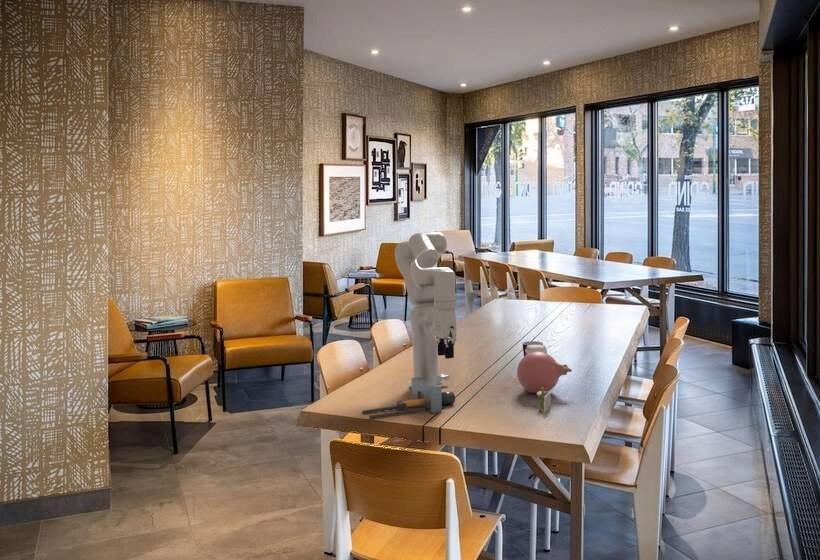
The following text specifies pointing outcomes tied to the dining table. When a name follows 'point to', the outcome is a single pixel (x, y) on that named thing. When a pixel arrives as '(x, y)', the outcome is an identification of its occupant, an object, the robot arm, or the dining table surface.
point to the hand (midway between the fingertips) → (445, 356)
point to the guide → (390, 412)
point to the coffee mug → (529, 344)
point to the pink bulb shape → (540, 372)
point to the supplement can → (535, 348)
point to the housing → (427, 394)
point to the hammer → (446, 399)
